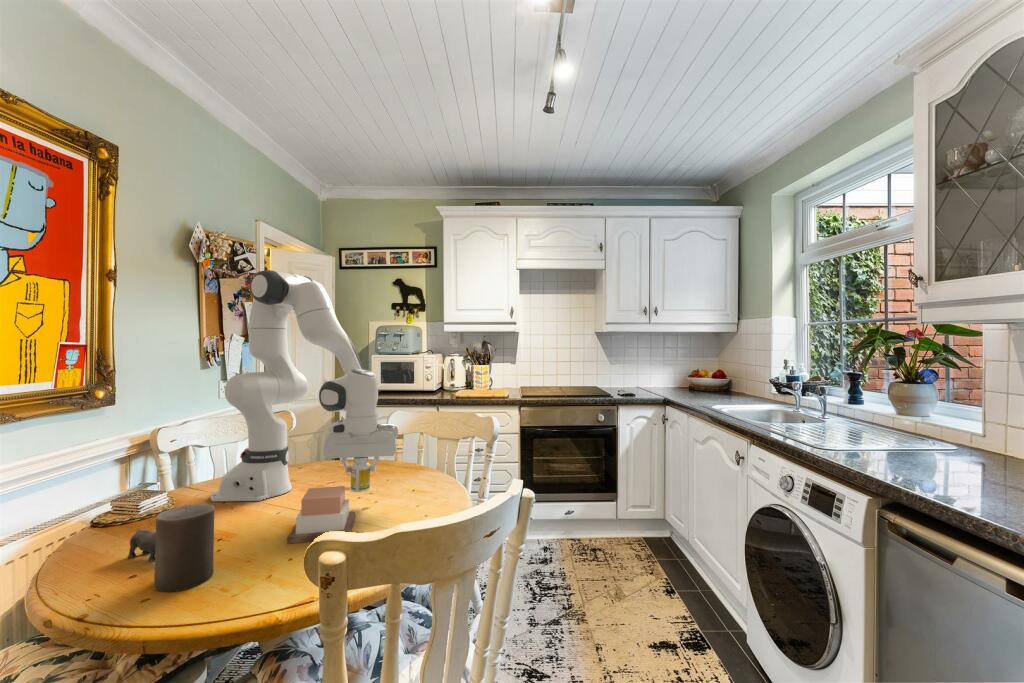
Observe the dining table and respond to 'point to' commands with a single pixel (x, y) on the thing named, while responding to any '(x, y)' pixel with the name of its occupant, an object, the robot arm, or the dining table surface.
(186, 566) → the pillar candle
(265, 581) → the dining table surface
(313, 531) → the pink white stepped block
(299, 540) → the baseplate
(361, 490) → the supplement bottle
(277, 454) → the robot arm
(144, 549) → the rhino figurine
